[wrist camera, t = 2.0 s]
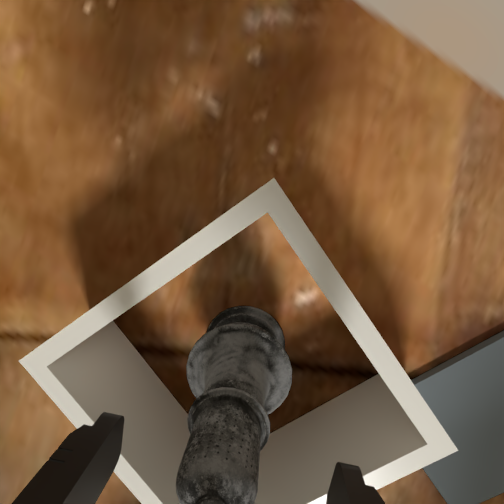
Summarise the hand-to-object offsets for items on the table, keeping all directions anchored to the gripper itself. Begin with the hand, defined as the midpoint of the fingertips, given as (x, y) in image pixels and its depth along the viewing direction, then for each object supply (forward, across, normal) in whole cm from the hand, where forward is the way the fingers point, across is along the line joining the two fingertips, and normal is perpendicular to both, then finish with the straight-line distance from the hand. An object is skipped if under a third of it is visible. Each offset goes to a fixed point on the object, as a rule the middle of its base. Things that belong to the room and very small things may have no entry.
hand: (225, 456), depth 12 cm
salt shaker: (+10, 0, 0) cm, 10 cm away
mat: (+9, -16, +2) cm, 19 cm away
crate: (+9, 0, 0) cm, 9 cm away
